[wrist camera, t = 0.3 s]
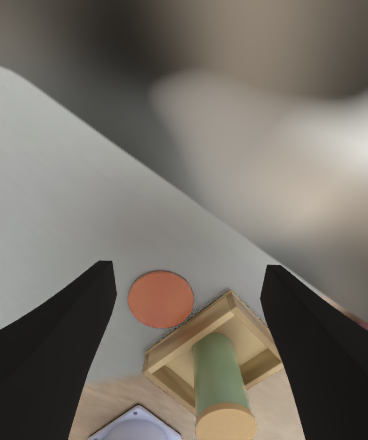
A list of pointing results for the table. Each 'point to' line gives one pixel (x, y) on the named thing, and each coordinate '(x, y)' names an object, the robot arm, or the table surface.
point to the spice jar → (220, 392)
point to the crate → (197, 329)
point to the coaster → (161, 299)
